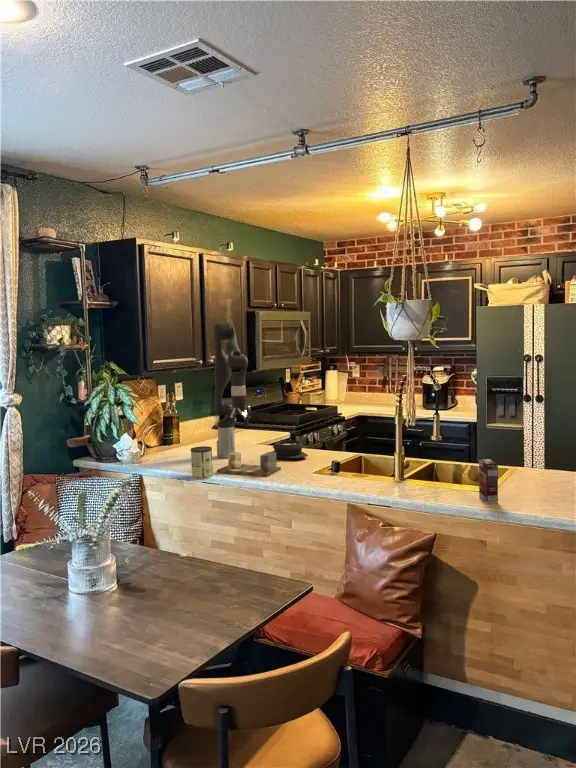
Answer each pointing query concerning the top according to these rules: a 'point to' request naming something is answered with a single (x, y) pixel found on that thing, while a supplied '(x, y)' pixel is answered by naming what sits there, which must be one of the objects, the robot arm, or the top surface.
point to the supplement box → (488, 480)
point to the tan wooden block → (234, 460)
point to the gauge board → (255, 467)
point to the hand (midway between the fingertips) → (239, 425)
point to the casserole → (288, 449)
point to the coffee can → (201, 462)
